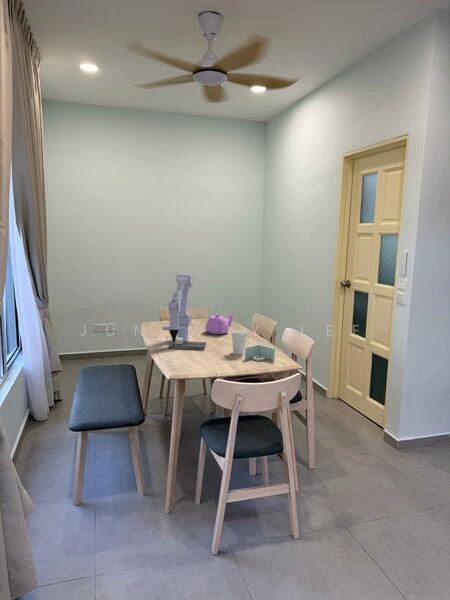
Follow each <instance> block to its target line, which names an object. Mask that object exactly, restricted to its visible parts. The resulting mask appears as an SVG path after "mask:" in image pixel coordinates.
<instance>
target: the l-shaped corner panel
mask: <svg viewBox="0 0 450 600" xmlns="http://www.w3.org/2000/svg"><path fill="white" fill-rule="evenodd" d="M275 353H276V349H275V347H271V346H267V345H263V344H259V343H258V344H254V345H251V346H245V348H244V360H250V359H253V360H252V361H254V360H256V361H255V362H263V361H264V360H265V359H266V358H268V359H267V360H269V359H272V360H271V361H273V360H274V361H275V356H276V355H275ZM252 357H253V358H252ZM264 357H265V358H264ZM249 358H250V359H249ZM262 360H263V361H262Z"/></svg>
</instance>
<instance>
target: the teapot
mask: <svg viewBox="0 0 450 600" xmlns="http://www.w3.org/2000/svg"><path fill="white" fill-rule="evenodd" d="M234 316H235V313H233V314H231V315H230V316H229V317H228V321H227V319H226V317H225V316H222V315H221V314H220V313H215V315H211V316H210V317H209V318H208V320H207V322H206V325H205V330H206V332H207V333H209V334H211V335H224V334H226V333H228V332H229V331H230V327H231V326H232V324H233V323H232V321H233V320H232V319H233V317H234Z"/></svg>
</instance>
